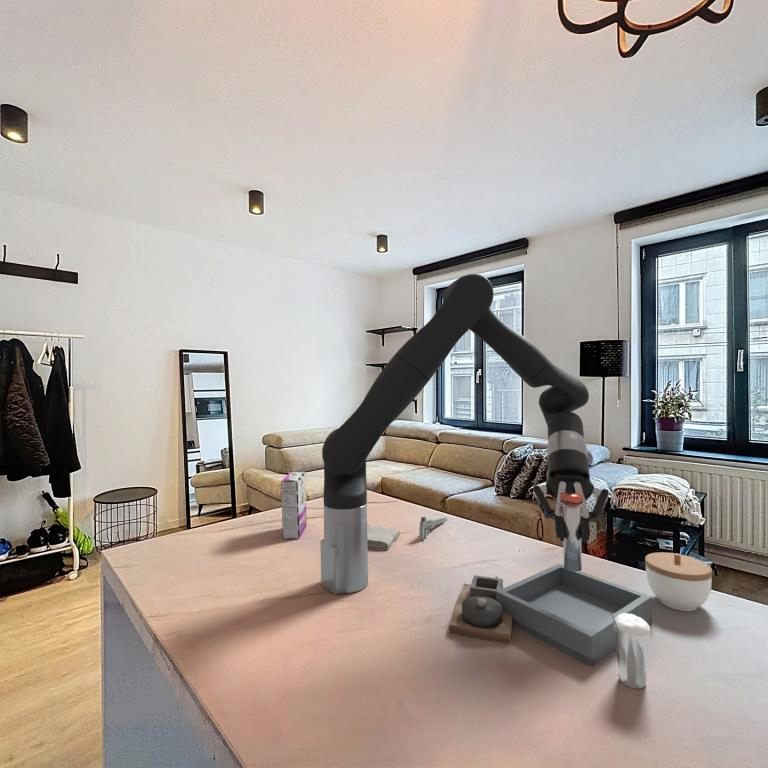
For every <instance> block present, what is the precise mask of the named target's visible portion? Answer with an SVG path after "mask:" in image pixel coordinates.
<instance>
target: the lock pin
mask: <svg viewBox="0 0 768 768" xmlns="http://www.w3.org/2000/svg"><path fill="white" fill-rule="evenodd" d="M560 501H561V502H563V515H562V517H563V521H564V541H562V549H563V550H562V551H563V554H562V555H563V565H564V568H565V569H567V570H570V571H581V572H582V569H583V568H582V563H583V562H582V561H583V560H582V558H583V557H582V554H583V553H582V543H581V503H583V495H582V494H580V493H576V492H562V493H560Z"/></svg>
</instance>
